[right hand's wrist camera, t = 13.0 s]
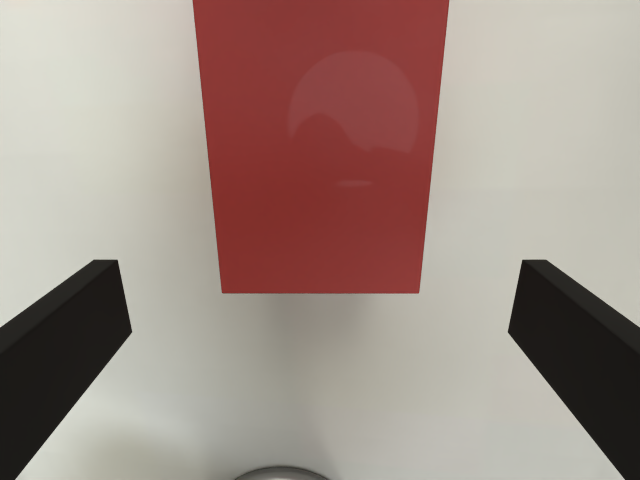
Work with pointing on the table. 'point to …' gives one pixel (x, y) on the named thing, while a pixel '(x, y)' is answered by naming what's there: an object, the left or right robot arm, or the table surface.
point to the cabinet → (320, 140)
